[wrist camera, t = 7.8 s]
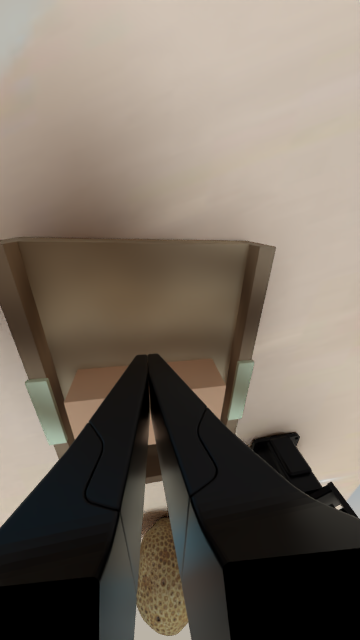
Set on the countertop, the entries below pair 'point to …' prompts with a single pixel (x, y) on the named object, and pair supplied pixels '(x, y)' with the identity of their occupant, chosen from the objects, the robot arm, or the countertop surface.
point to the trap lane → (130, 313)
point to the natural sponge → (160, 581)
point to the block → (195, 373)
